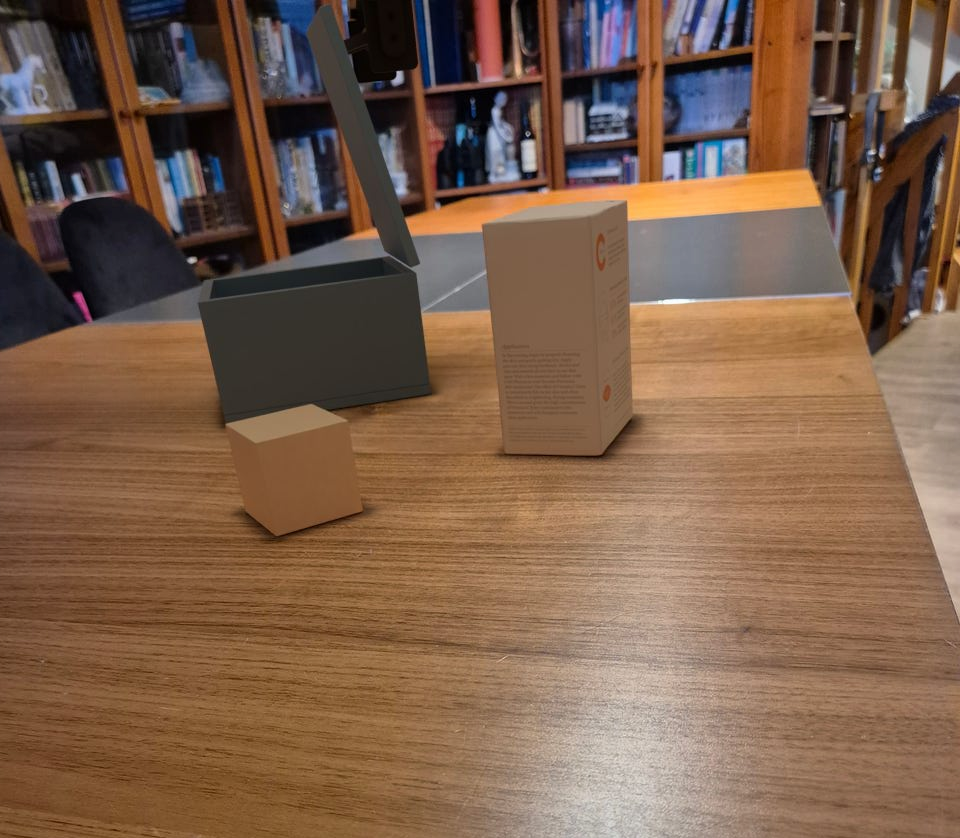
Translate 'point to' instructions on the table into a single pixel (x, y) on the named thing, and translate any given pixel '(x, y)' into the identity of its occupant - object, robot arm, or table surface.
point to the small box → (561, 325)
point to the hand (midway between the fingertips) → (385, 76)
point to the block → (295, 468)
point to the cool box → (315, 337)
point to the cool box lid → (359, 131)
